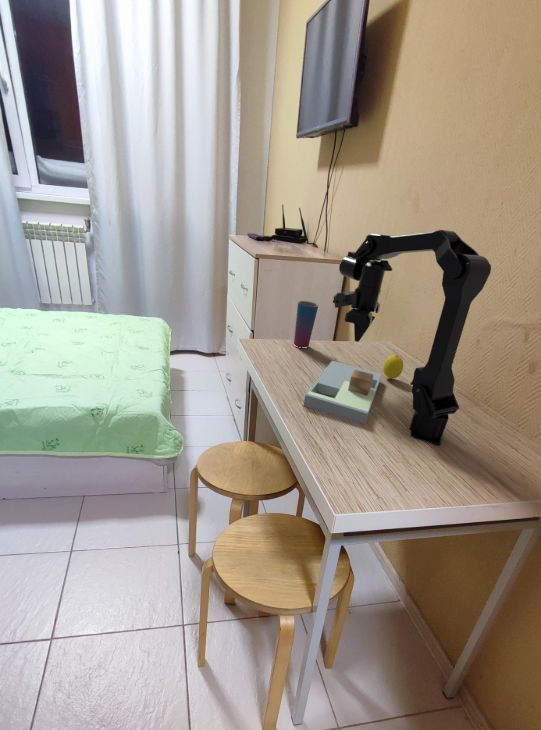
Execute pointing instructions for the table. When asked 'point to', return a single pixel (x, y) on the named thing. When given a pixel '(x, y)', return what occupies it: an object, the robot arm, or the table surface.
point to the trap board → (341, 393)
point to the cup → (305, 322)
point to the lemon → (393, 366)
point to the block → (360, 382)
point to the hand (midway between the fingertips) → (356, 341)
